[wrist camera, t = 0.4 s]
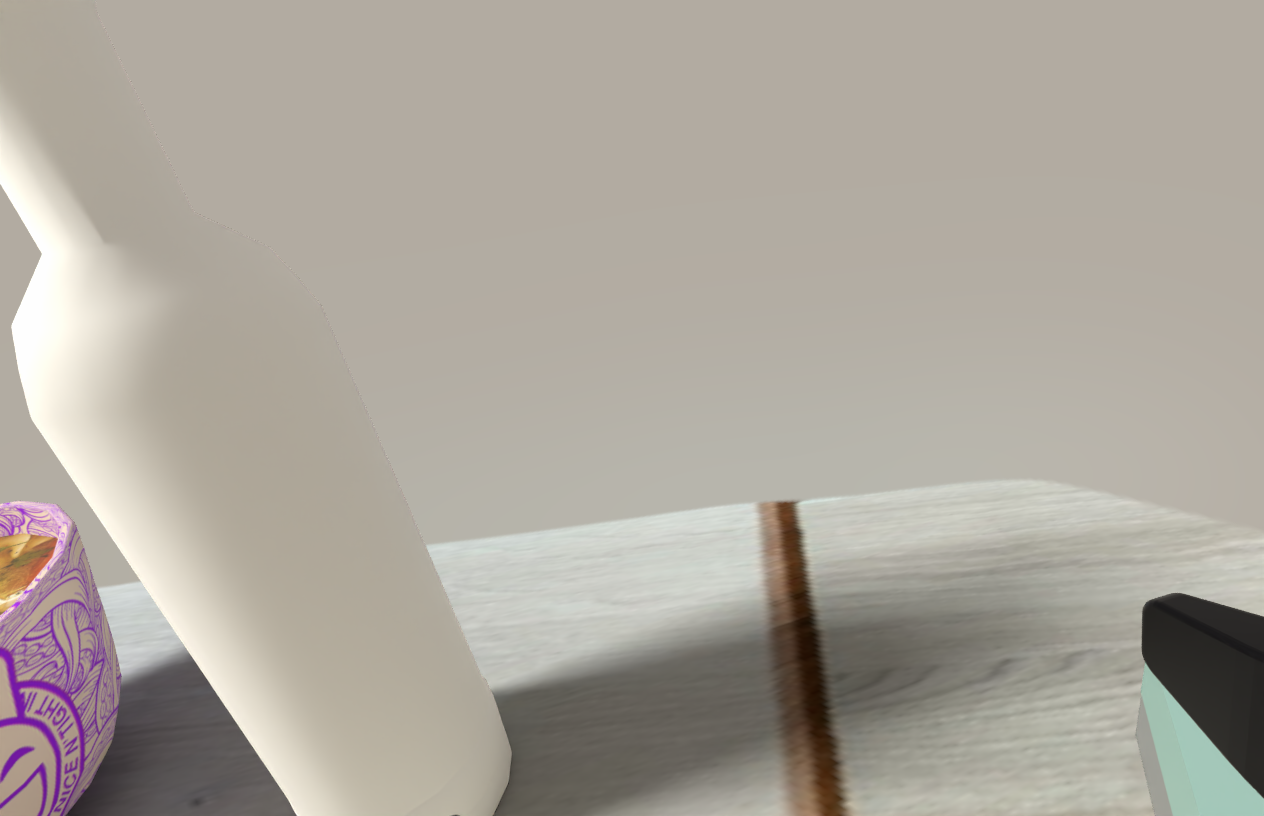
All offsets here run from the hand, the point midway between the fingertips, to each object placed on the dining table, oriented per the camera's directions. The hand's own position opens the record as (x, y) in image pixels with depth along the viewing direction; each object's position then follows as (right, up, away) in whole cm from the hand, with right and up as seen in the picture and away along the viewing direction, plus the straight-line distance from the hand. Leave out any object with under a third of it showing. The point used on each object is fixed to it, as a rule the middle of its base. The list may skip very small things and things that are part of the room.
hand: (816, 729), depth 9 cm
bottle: (-11, -12, +20) cm, 26 cm away
